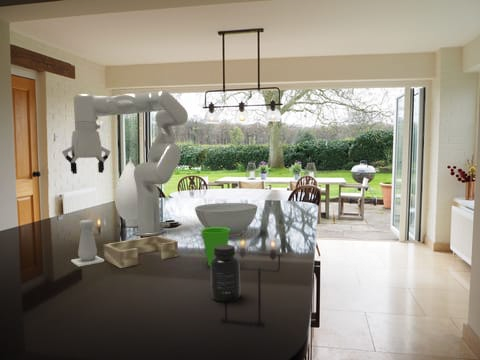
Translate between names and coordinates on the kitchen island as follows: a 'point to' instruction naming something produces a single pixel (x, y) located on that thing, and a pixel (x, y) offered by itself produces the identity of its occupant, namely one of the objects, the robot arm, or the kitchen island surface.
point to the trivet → (83, 263)
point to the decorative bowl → (227, 216)
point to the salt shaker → (87, 241)
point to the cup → (214, 240)
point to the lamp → (127, 196)
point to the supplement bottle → (225, 274)
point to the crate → (138, 250)
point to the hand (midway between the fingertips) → (88, 173)
